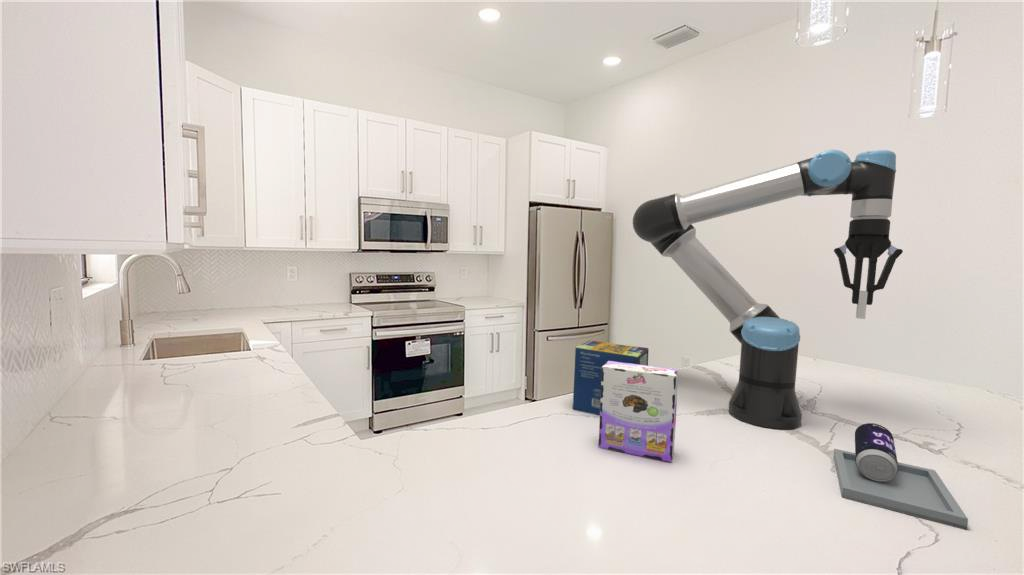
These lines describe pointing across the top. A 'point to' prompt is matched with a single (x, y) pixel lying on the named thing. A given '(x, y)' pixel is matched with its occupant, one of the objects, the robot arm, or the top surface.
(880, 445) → the beverage can
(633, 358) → the protein box
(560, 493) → the top surface
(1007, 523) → the top surface
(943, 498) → the tray
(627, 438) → the candy box
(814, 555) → the top surface
